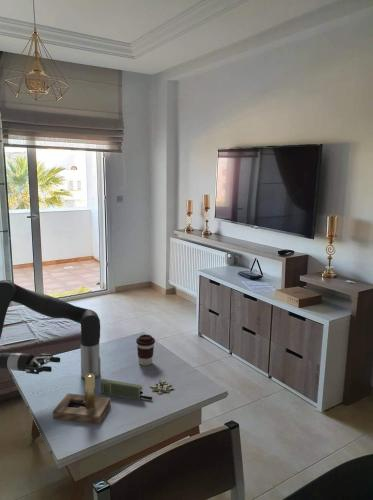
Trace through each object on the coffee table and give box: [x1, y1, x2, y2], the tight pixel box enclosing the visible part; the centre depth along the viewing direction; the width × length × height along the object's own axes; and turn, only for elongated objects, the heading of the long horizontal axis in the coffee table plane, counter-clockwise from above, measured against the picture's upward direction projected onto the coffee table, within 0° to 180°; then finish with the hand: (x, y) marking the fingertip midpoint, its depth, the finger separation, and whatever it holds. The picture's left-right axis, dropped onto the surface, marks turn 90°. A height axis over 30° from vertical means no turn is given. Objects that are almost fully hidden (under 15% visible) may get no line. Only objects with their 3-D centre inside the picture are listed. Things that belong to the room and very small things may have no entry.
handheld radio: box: [100, 378, 153, 401], centre depth 185 cm, size 7×3×25 cm
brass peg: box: [84, 373, 96, 408], centre depth 170 cm, size 4×4×17 cm
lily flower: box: [152, 379, 172, 395], centre depth 193 cm, size 12×12×5 cm
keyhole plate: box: [52, 393, 111, 425], centre depth 172 cm, size 20×14×3 cm
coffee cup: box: [135, 334, 156, 366], centre depth 217 cm, size 10×10×15 cm
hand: (55, 364), depth 176 cm, fingers open, 8 cm apart
